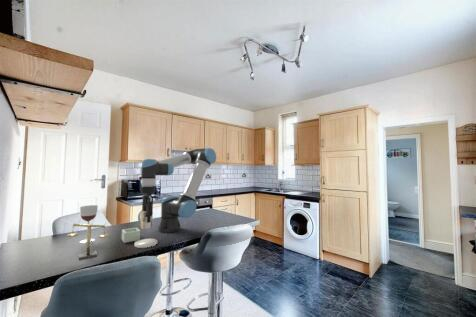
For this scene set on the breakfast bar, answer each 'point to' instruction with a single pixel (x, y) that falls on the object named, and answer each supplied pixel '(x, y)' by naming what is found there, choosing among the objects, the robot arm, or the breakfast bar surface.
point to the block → (143, 218)
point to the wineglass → (88, 215)
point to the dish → (145, 243)
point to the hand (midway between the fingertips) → (146, 226)
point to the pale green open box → (130, 235)
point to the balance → (88, 240)
